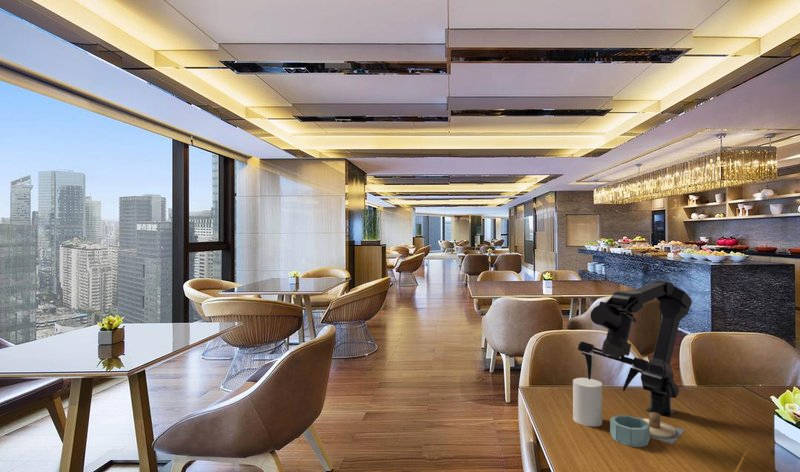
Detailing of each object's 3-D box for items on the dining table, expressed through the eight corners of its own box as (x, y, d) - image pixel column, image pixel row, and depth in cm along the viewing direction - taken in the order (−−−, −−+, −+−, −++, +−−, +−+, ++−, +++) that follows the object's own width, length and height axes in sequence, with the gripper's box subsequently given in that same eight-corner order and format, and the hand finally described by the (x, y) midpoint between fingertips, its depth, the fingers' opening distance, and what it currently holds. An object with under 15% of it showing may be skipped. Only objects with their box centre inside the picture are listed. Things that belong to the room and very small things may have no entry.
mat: (639, 418, 132) (639, 417, 132) (684, 431, 124) (684, 430, 124) (624, 430, 124) (624, 429, 124) (672, 445, 115) (672, 444, 115)
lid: (641, 419, 131) (641, 404, 131) (679, 430, 124) (679, 414, 124) (629, 429, 124) (629, 413, 124) (669, 441, 117) (669, 425, 117)
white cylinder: (605, 428, 125) (605, 387, 125) (575, 426, 127) (575, 386, 127) (598, 417, 133) (598, 378, 133) (570, 415, 135) (570, 377, 135)
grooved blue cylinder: (618, 429, 125) (618, 412, 125) (653, 440, 118) (653, 422, 118) (606, 439, 119) (606, 421, 119) (641, 451, 112) (641, 432, 112)
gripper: (581, 320, 126) (568, 372, 123) (653, 340, 115) (641, 397, 113) (586, 325, 135) (574, 374, 132) (654, 344, 125) (642, 397, 122)
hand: (606, 385), depth 125 cm, fingers open, 9 cm apart
